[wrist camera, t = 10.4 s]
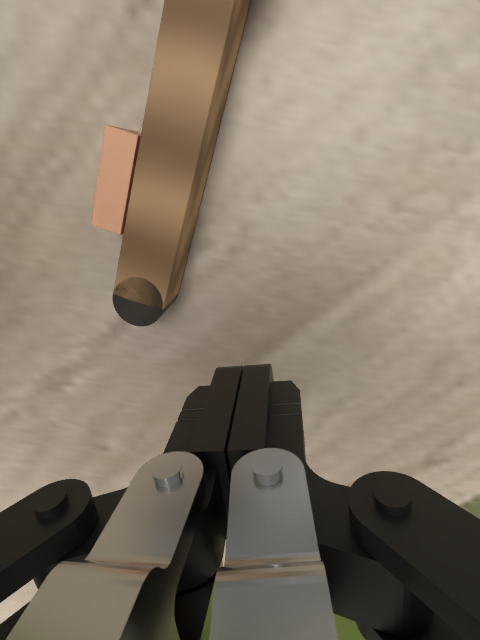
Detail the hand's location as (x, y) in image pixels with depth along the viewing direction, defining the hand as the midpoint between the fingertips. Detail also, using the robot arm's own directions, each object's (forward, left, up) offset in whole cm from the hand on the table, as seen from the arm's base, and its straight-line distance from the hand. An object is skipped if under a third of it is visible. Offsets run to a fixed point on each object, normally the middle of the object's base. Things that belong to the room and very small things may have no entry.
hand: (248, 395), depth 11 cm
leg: (-8, +5, -19) cm, 21 cm away
